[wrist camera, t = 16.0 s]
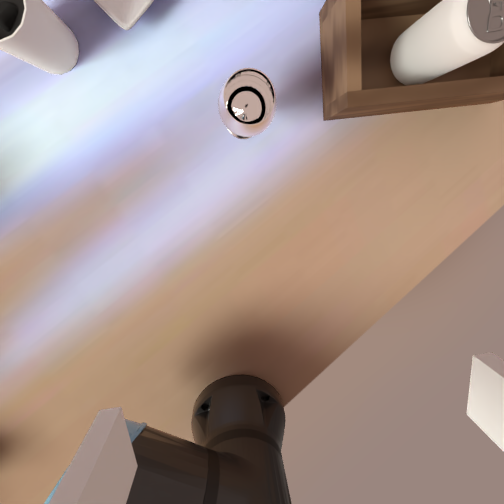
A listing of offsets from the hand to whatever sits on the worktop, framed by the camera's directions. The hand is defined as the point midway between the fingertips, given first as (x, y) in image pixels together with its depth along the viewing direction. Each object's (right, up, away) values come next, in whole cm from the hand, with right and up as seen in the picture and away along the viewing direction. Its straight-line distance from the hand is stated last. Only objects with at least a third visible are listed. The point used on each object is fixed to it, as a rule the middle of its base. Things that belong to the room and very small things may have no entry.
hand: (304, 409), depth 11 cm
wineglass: (-3, +23, +27) cm, 35 cm away
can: (+18, +30, +26) cm, 43 cm away
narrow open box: (+18, +30, +26) cm, 44 cm away
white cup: (-25, +30, +23) cm, 45 cm away
